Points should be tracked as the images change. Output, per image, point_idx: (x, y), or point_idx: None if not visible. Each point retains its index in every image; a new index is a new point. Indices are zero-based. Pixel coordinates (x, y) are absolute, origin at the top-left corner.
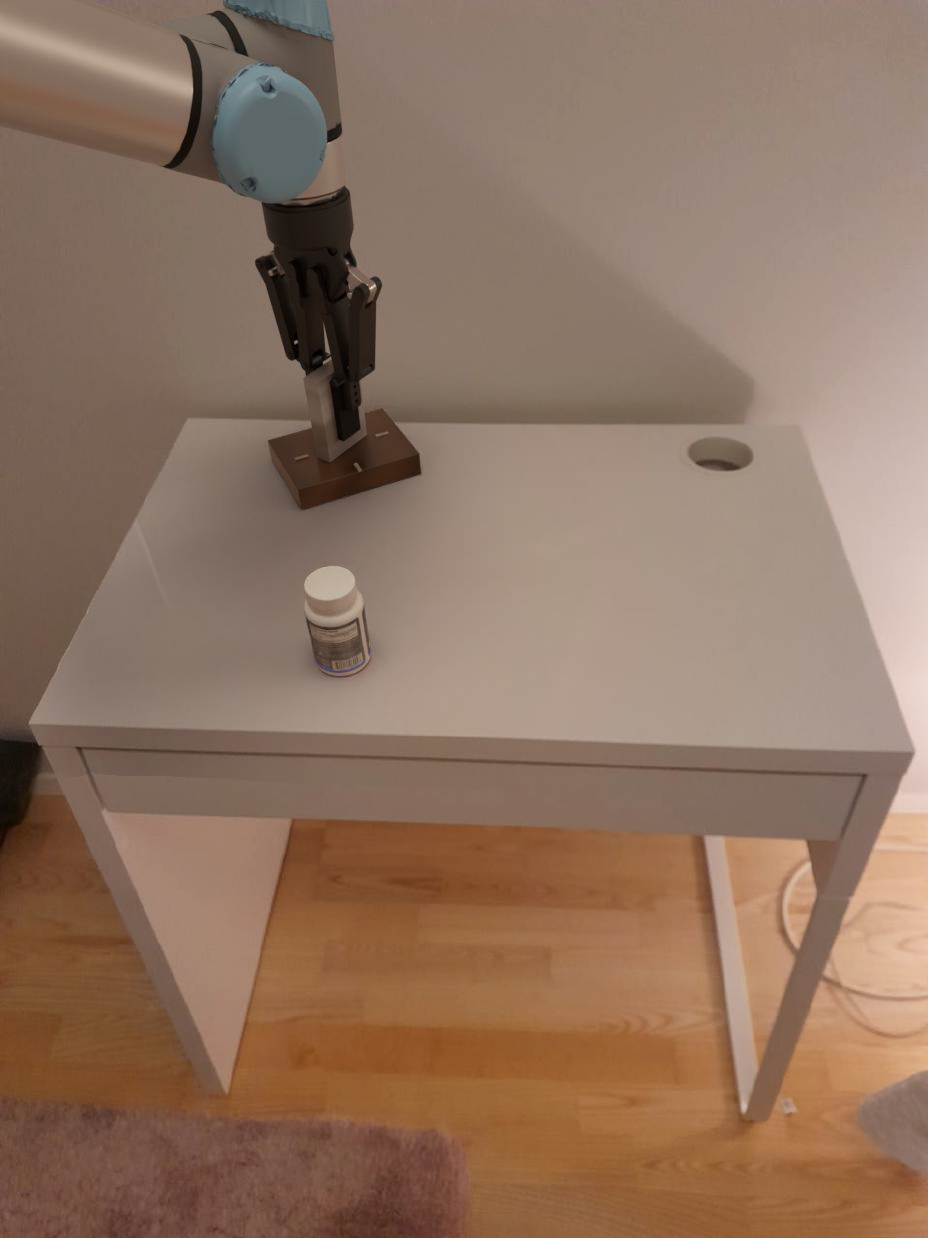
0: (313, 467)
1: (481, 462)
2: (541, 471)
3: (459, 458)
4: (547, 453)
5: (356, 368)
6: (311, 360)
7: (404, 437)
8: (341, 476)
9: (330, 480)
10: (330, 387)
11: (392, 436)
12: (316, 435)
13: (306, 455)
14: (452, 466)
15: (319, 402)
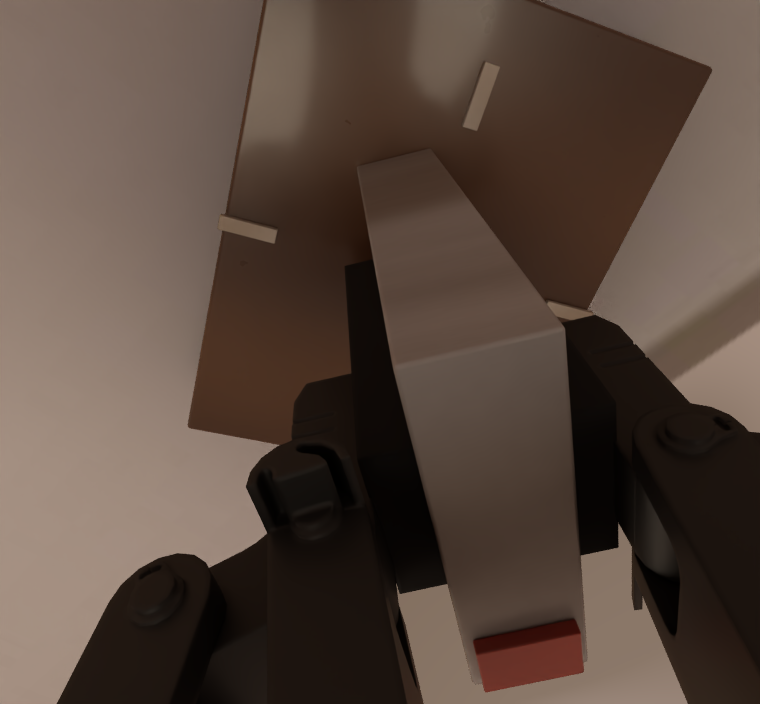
0: (383, 90)
1: (147, 512)
2: (19, 578)
3: (201, 487)
4: (84, 619)
5: (94, 688)
6: (656, 504)
7: None
8: (240, 140)
9: (249, 86)
10: None
11: None
12: (427, 182)
13: (472, 121)
14: (179, 457)
15: (387, 280)
